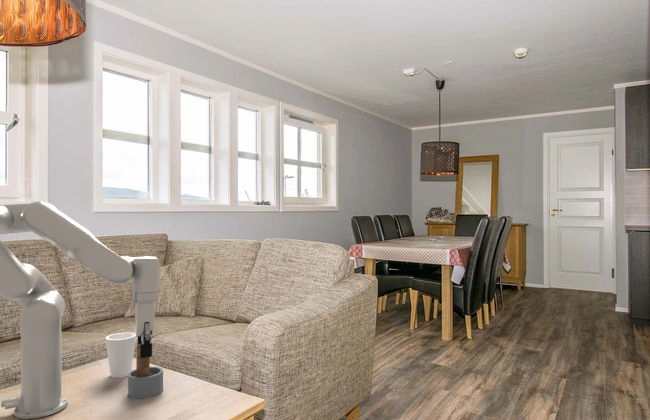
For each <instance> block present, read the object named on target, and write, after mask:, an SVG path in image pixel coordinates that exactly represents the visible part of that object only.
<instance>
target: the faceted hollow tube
mask: <svg viewBox="0 0 650 420" xmlns="http://www.w3.org/2000/svg"><path fill="white" fill-rule="evenodd" d="M155 372H156V373H157V374H156V375H153V376H149V377H133V376H136V369H132V370H131V372H130V373H128V376H127V396H128V398H132V399H133V400H134V399H135V400H136V399H137V400H138V399H140V400H142V399H149V398H152V397H156V396H158V395H160V394H161V393H162V392H163V391H164V370H163V368H162V367H159V366H149V373H155Z"/></svg>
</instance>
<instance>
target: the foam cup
mask: <svg viewBox="0 0 650 420" xmlns="http://www.w3.org/2000/svg"><path fill="white" fill-rule="evenodd" d="M136 342H137V336H136V335H135V332H117V333H112V334H110V335H107V336H105V347H106V352H107V360H108V367H109V373H110V377H111V378H115V379H118V378H125V377H128V373H130V372H131V371H132V370H133V369H132V368H133V362H134V356H135V347H136Z"/></svg>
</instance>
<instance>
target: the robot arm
mask: <svg viewBox="0 0 650 420" xmlns="http://www.w3.org/2000/svg"><path fill="white" fill-rule="evenodd" d="M30 232H32V233H34V234H35V235H37V236H39V237H40V238H42V239H44V240H45V241H47V242H48V243H50V244H51V245H53V246H54V247H56V248H57V249H58V250H60V251H62V252H63V253H65V254H66V255H68V257H70V258H72V259H73V260H75V261H77V262H78V263H80V264H81V265H83V267H85V268H87V269H88V270H90V271H91V272H92V273H94V274H95V275H97V276H98V277H100V278H102V279H103V280H104V281H106V282H109V283H110V284H114V285H122V284H126V283H127V282H128V281H129V280H132V289H131V290H132V295H131V297H132V298H131V300H132V302H131V303H132V304H135V307H134V308H135V309H134V326H133V328H134V329H133V331H134V332H133V333H135V335H136V338H137V344H141V347H140V357H141V358H146V357H150V358H151V357H153V343H152V342H153V341H152V339H153V338H152V336H154V331H155V310H156V309H155V308H156V307H155V304H156V303H157V302H159V300H160V299H159V297H160V294H159V293H160V292H159V291H160V287H159V286H160V260H159V258H158V257H156V256H153V255H152V256H136V257H134V256H133V257H132V256H120V255H119V254H118V253H116V252H114V251H112V250H111V249H110V248H109V247H107V246H105V245H104V244H103V243H102V242H100V241H99V240H98V239H97V238H96V237H95V236H94V235H93V234H92V233H91V232H90V231H89V230H88V229H87V228H86V227H84V226H82V225H81V224H79V223H78V222H76V221H75V220H73V219H72V218H70V217H69V216H67V215H66V214H65V213H63V212H61V211H60V210H58V208H57V207H55V205H53V204H52V203H49V202H46V201H42V200H41V201H38V200H37V201H33V202H30V203H21V204H20V203H18V204H0V235H8V234H20V233H21V234H22V233H30ZM0 297H1V298H3V299H4V300H8V301H16V302H17V303H18V304H19V305H20V307H22V309H21V311H20V315H19V331H20V363H21V364H20V372H21V373H20V374H21V375H20V395H19V396H18V395H17V396H15V398H7V399H2V400H1V402H0V407H1V408H4V409H5V410H8V409H9V410H10V409H13V408H14V410H13V416H14V417H15V418H17V419H23V420H24V419H25V420H31V419H38V418H43V417H47V416H50V415H54V414H56V413H58V412H61V411H62V410H63V409H65V408H66V407H67V406H68V404H69V403H68V400H69V399H68V398H67V397H66V396H62V364H63V363H62V361H63V360H62V359H63V358H62V357H63V355H62V354H63V353H62V352H63V351H62V349H63V348H62V347H63V346H62V344H63V343H62V316H63V314H64V311H65V308H66V302H65V299H64V298H63V296H62V295H61V293H60V292H58V290H57V289H56V288H55V287H54V286H53V285H52V283H51V282H50V281H49V280H48V279H47V277H46V276H45V275H44V274H43V273H42V272H41V271H40V270H39V269H38V267H36V266H34V265H32V264H29V263H26V262H21V260H19V259H18V258H17V256H15V254H14V253H13V252H12V251H11V249H10V248H8V246H7V245H6V244H4V243H3V241H2V240H1V239H0Z"/></svg>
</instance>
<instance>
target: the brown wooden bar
mask: <svg viewBox="0 0 650 420" xmlns="http://www.w3.org/2000/svg"><path fill="white" fill-rule="evenodd" d="M140 347H141V344H138V343H136V362H135V363H136V364H135V365H136V367H135V368H136V377H149V367H150V361H151V360H150V358H151V357H146V358H141V357H140Z"/></svg>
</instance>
